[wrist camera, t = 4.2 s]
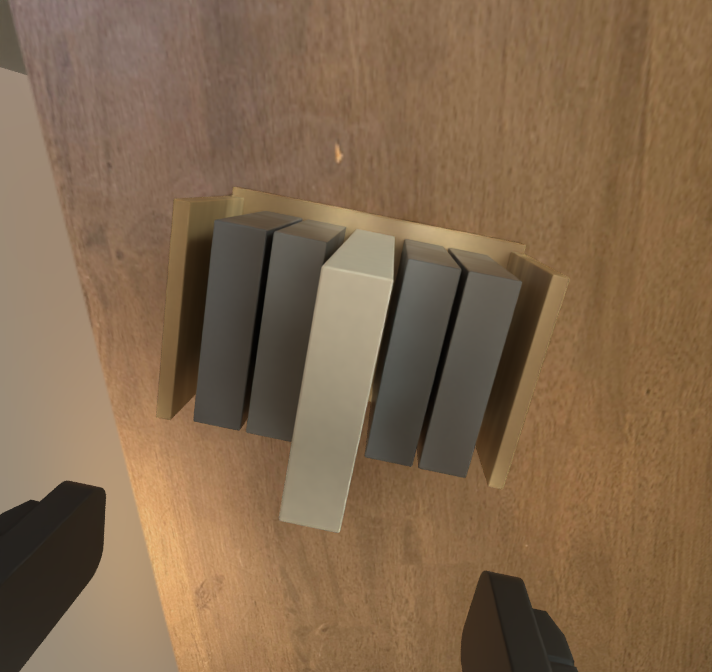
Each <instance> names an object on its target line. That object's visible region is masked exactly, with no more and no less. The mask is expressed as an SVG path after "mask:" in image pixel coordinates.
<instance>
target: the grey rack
mask: <svg viewBox="0 0 712 672" xmlns="http://www.w3.org/2000/svg"><path fill="white" fill-rule="evenodd" d="M356 229H360V230H365V231H370V232H375V233H380V234H385V235H390V236H394V237H395V244H394V277H393V286H392V291H391V295H390V300H389V305H388V309H387V314H386V319H385V323H384V328H383V333H382V337H381V342H380V347H379V351H378V356H377V361H376V365H375V370H374V375H373V379H372V384H371V389H370V393H369V398H368V401H369V402H371V406H370V414H369V423H368V431H367V440H366V448H365V457H367V458H372V459H377V460H381V461H386V462H391V463H396V464H401V465H405V466H410V467H411V466H412V465H413V461H414V457H415V453H416V449H417V457H418V468H420V469H425V470H429V471H434V472H439V473H444V474H448V475H453V476H458V477H463V478H466V475H467V472H468V469H469V465H470V462H471V458H472V455H473V451H474V448H475V446H476V449H477V452H478V455H479V459H480V462H481V465H482V468H483V472H484V475H485V478H486V481H487V485H488V487H492V488H497V489H503V488H504V485H505V482H506V478H507V475H508V472H509V469H510V466H511V463H512V459H513V456H514V453H515V450H516V447H517V444H518V440H519V437H520V434H521V431H522V428H523V425H524V422H525V418H526V415H527V412H528V409H529V406H530V403H531V399H532V396H533V393H534V390H535V387H536V384H537V381H538V377H539V374H540V371H541V368H542V365H543V362H544V358H545V355H546V352H547V349H548V346H549V343H550V339H551V336H552V333H553V330H554V327H555V324H556V321H557V317H558V314H559V311H560V308H561V305H562V302H563V298H564V295H565V292H566V289H567V286H568V283H569V280H570V278H569V277H567V276H565V275H563V274H561V273H559V272H557V271H556V270H554V269H552V268H550V267H548V266H546V265H544V264H542V263H540V262H538V261H537V260H535V259H533V258H531V257H529V256H527V255H525V254H524V252H525V248H526V245H524V244H522V243H517V242H512V241H507V240H502V239H497V238H492V237H487V236H482V235H477V234H472V233H467V232H462V231H457V230H452V229H447V228H442V227H437V226H432V225H427V224H422V223H417V222H411V221H406V220H401V219H396V218H391V217H386V216H381V215H376V214H371V213H366V212H361V211H356V210H351V209H346V208H341V207H336V206H331V205H326V204H321V203H316V202H311V201H306V200H301V199H296V198H291V197H286V196H281V195H276V194H271V193H266V192H261V191H256V190H251V189H246V188H241V187H233V192H232V196H214V197H195V198H176V199H174V202H173V214H172V226H171V239H170V251H169V263H168V276H167V288H166V300H165V313H164V325H163V337H162V350H161V362H160V374H159V387H158V399H157V411H156V417H157V418H162V419H167V420H171V419H172V418H173V417H174V416H175V415H176V414H177V413H178V412H179V411H180V410H181V409H182V408H183V407H184V406H185V405H186V404H187V403H188V402H189V401H190V399H191V398H192V397H193V396H194V395H195V394H196V400H195V409H194V419H193V420H194V421H195V422H200V423H204V424H209V425H214V426H219V427H224V428H228V429H233V430H238V431H239V430H240V429H241V428H242V426H243V425H244V423H245V421H246V420H247V418H248V421H247V428H246V432H247V433H251V434H256V435H261V436H265V437H270V438H275V439H280V440H285V441H289V442H292V437H293V431H294V426H295V420H296V414H297V408H298V402H299V396H300V390H301V384H302V379H303V373H304V367H305V361H306V355H307V349H308V343H309V337H310V332H311V326H312V320H313V314H314V308H315V302H316V296H317V290H318V285H319V279H320V273H321V267H322V266H323V265H324V264H325V262H326V261H327V260H328V259H329V258H330V257H331V256H332V255H333V254H334V253H335V252H336V251H337V250H338V249H339V247H340V246H341V245H342V244H343V243H344V242H345V241H346V240H347V239H348V238H349V237H350V236H351V235H352V234H353V232H354V231H355V230H356Z"/></svg>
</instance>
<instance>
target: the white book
mask: <svg viewBox="0 0 712 672" xmlns="http://www.w3.org/2000/svg"><path fill="white" fill-rule="evenodd" d="M394 244H395V237H394V236H390V235H385V234H380V233H375V232H370V231H365V230H360V229H356V230H355V231H354V232H353V234H352V235H351V236H350V237H349V238H348V239H347V240H346V241H345V242H344V243H343V244H342V245H341V246H340V247H339V249H338V250H337V251H336V252H335V253H334V254H333V255H332V256H331V257H330V258H329V259H328V260H327V261H326V262H325V264H324V265H323V266H322V267H321V273H320V279H319V285H318V290H317V296H316V302H315V308H314V314H313V320H312V326H311V332H310V337H309V343H308V349H307V355H306V361H305V367H304V373H303V379H302V384H301V390H300V396H299V402H298V408H297V414H296V420H295V426H294V431H293V437H292V443H291V449H290V455H289V461H288V467H287V473H286V478H285V484H284V490H283V496H282V502H281V508H280V514H279V520H280V521H283V522H288V523H293V524H298V525H302V526H307V527H312V528H317V529H321V530H326V531H331V532H335V533H339V532H340V529H341V524H342V520H343V515H344V510H345V506H346V501H347V496H348V492H349V487H350V482H351V478H352V473H353V468H354V464H355V459H356V454H357V450H358V445H359V440H360V436H361V431H362V426H363V422H364V417H365V412H366V407H367V403H368V398H369V393H370V389H371V384H372V379H373V375H374V370H375V365H376V361H377V356H378V351H379V347H380V342H381V337H382V333H383V328H384V323H385V319H386V314H387V309H388V305H389V300H390V295H391V291H392V286H393V277H394Z"/></svg>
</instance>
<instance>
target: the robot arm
mask: <svg viewBox="0 0 712 672" xmlns="http://www.w3.org/2000/svg"><path fill="white" fill-rule="evenodd" d="M105 504H106V494H105V490H104V489H103V488H101V487H96V486H91V485H86V484H82V483H77V482H72V481H64V482H62V483H61V484H59V485H58V486H57V487H56V488H55V489H54V490H53V491H52V492H50V493H49V494H48V495H47V496H46V497H45V498H44V499H42V500H41V501H40V502H39V501H34V500H29V501H27V502H25V503H23V504H21V505H19V506H16V507H14V508H12V509H10V510H8V511H6V512H4V513H2V514H1V515H0V672H19V671H20V670H21V668H22V667H23V666H24V665H25V664H26V662H27V661H28V660H29V658H30V657H31V656H32V654H33V653H34V652H35V651H36V649H37V648H38V647H39V646H40V644H41V643H42V642H43V640H44V639H45V638H46V637H47V635H48V634H49V633H50V631H51V630H52V629H53V628H54V626H55V625H56V624H57V622H58V621H59V620H60V618H61V617H62V616H63V615H64V613H65V612H66V611H67V610H68V608H69V607H70V606H71V605H72V603H73V602H74V601H75V599H76V598H77V597H78V596H79V594H80V593H81V592H82V590H83V589H84V588H85V586H86V585H87V584H88V583H89V581H90V580H91V578H92V577H93V575H94V574H95V572H96V569H97V568H98V565H99V562H100V560H101V556H102V552H103V544H104V524H105ZM461 665H462V672H578V670H577V668H576V667H574V660H573V657H572V654H571V652H570V649H569V646H568V643H567V641H566V638H565V636H564V634H563V633H562V632H561V630H560V629H559V628H558V626H557V625H556V624H555V622H554V621H553V620H552V619H551V617H550V616H549V615H548V613H547V612H546V611H542V610H537V609H533V608H532V606H531V603H530V600H529V597H528V594H527V590H526V587H525V584H524V582H523V580H522V579H521V578H518V577H513V576H509V575H504V574H499V573H495V572H490V571H483V572H482V574H481V576H480V578H479V581H478V584H477V587H476V590H475V594H474V597H473V600H472V603H471V606H470V609H469V612H468V616H467V619H466V622H465V625H464V628H463V633H462V640H461Z"/></svg>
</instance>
